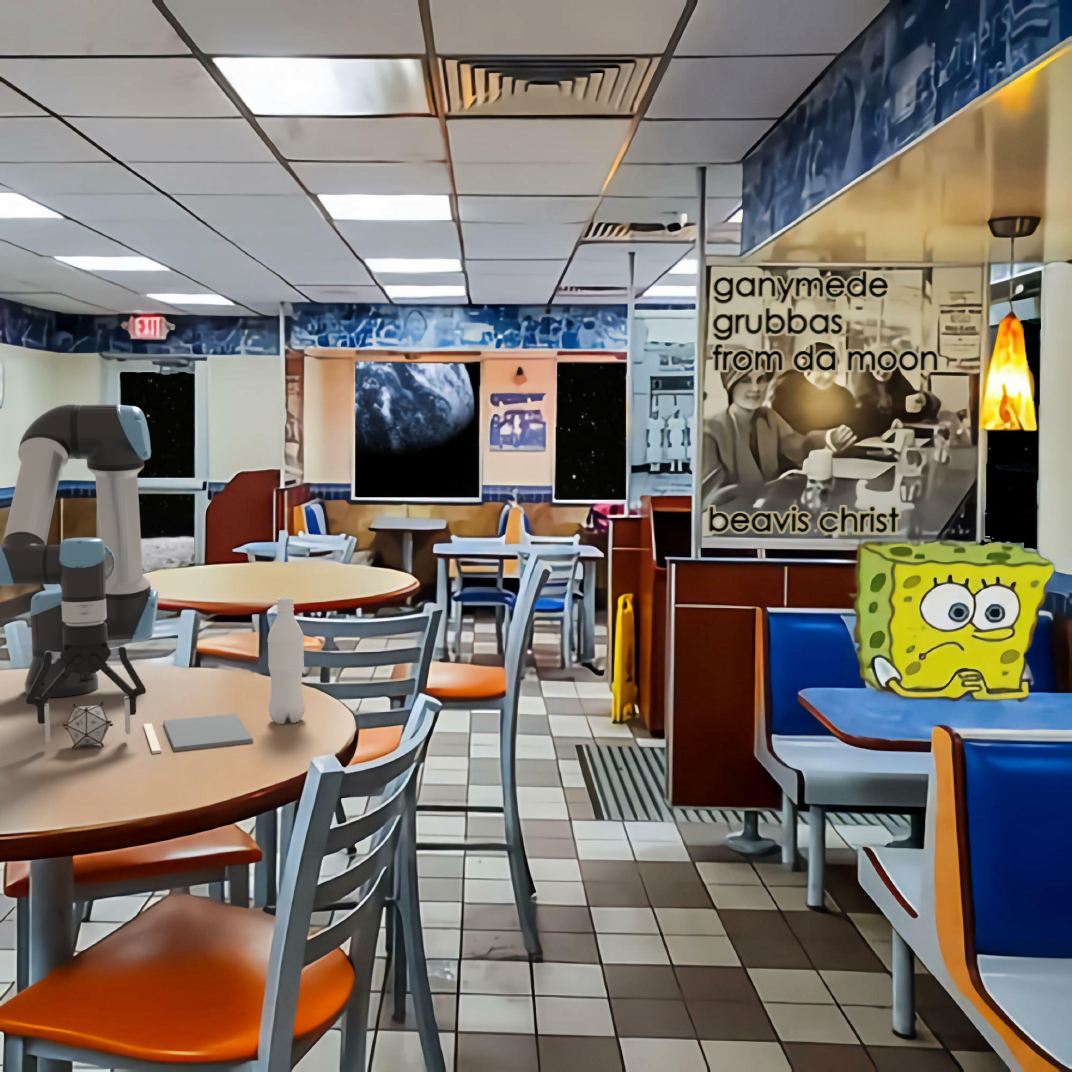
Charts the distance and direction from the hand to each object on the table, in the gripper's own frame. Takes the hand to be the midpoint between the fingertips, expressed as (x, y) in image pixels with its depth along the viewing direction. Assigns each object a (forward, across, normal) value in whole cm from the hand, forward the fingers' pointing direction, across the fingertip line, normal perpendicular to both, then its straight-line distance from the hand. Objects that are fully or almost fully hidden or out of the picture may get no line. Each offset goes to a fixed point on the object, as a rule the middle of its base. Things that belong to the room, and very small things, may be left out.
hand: (88, 736), depth 194 cm
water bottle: (+2, +37, +3) cm, 37 cm away
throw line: (+2, +11, 0) cm, 11 cm away
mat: (+2, +21, 0) cm, 21 cm away
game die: (+2, 0, 0) cm, 2 cm away
